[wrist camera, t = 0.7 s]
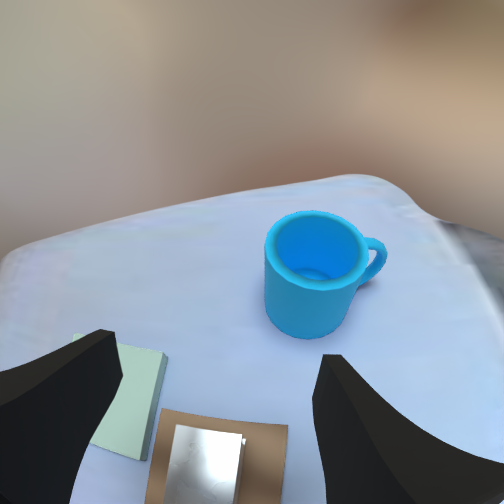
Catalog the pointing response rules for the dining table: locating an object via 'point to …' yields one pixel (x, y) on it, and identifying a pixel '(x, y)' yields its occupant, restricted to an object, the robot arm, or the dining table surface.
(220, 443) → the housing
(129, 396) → the stand
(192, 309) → the dining table surface
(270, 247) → the mug
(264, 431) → the stand
